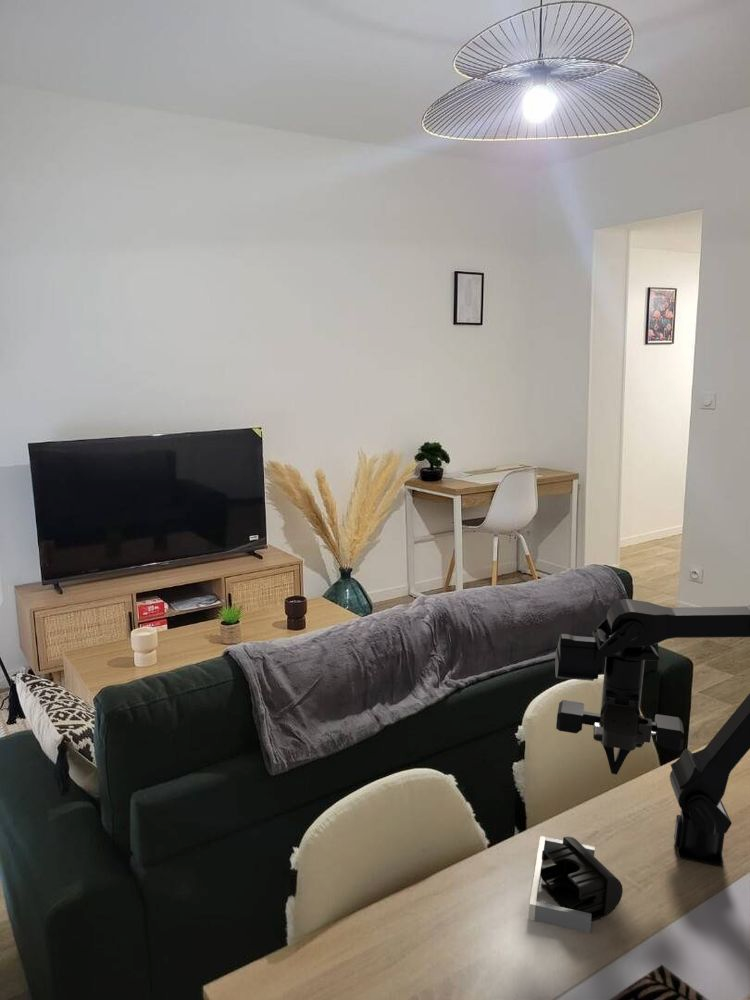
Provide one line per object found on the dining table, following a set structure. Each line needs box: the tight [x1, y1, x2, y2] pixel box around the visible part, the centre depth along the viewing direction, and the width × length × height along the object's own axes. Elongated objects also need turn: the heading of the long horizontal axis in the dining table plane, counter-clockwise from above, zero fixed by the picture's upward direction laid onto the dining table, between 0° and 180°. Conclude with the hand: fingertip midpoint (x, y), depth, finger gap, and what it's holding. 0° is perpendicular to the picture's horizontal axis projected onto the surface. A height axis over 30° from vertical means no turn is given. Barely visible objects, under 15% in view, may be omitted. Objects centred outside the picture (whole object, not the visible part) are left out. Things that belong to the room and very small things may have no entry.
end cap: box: [540, 836, 624, 923], centre depth 112 cm, size 10×7×7 cm
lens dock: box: [528, 835, 596, 934], centre depth 114 cm, size 8×16×2 cm, turn 163°
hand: (614, 773), depth 123 cm, fingers closed
